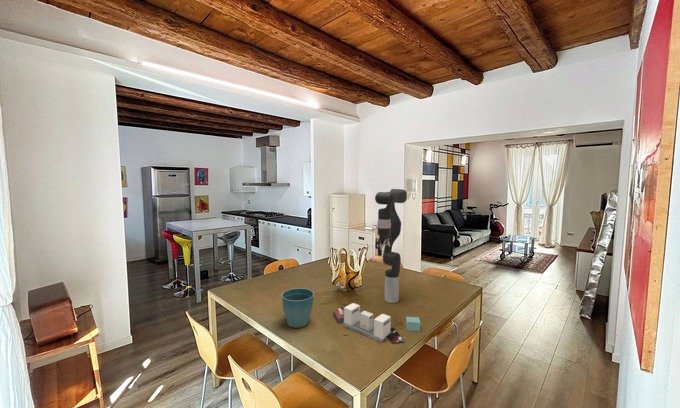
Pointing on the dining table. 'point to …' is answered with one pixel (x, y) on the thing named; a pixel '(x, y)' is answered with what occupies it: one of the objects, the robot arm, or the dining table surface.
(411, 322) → the block
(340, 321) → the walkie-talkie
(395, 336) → the smartphone
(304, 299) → the flower pot
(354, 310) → the block
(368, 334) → the grey rectangular tray
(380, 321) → the module
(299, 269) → the dining table surface
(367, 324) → the block
